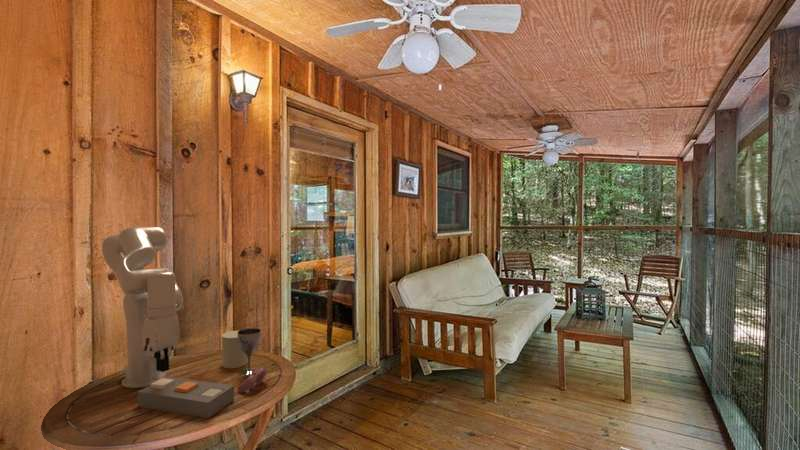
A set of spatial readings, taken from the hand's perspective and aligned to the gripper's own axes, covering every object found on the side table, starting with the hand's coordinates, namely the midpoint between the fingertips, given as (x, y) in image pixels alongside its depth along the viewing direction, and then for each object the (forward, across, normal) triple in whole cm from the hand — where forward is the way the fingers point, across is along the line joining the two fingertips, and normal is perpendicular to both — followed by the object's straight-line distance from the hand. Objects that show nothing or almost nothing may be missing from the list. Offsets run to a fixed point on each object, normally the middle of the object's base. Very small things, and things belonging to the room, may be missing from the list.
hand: (162, 370), depth 119 cm
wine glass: (+10, -25, +13) cm, 30 cm away
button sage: (+8, 0, +18) cm, 19 cm away
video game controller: (+10, -15, +22) cm, 28 cm away
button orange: (+7, 0, +9) cm, 11 cm away
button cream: (+7, 0, 0) cm, 7 cm away
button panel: (+9, 0, +9) cm, 13 cm away
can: (+9, -30, +3) cm, 32 cm away
